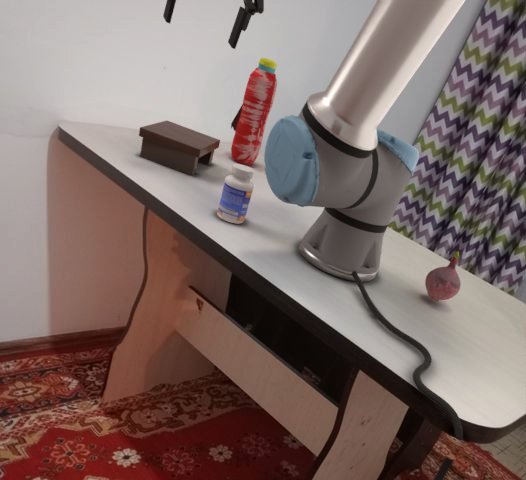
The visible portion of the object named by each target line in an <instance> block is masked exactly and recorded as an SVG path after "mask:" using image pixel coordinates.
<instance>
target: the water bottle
mask: <svg viewBox="0 0 526 480" xmlns="http://www.w3.org/2000/svg"><path fill="white" fill-rule="evenodd" d="M277 66H278V63H276V62H275V61H274V60H273V59H269V58H267V57H260V58H259V60H258V67H255V69H254V70H253V71H252V72H251V73H250V74H249V77H248V81H247V83H246V88H245V91H244V95H243V99H242V103H241V106H240V107H239V109H238V111H237V113H236V115H235V116H234V118H233V120H232V122H231V123H230V129H233V131H234V135H233V139H232V142H231V147H230V149H231V150H230V152H231V153H230V154H231V158H232V160H233V161H235V162H236V163H237V164H242V165H245V166H252V165H253V164H254V163H255V161H256V160H257V159H258V157H259V153H260V151H261V147H262V143H263V142H262V141H263V137H264V133H265V130H266V129H265V128H266V125H267V121H268V118H269V115H270V112H271V110H272V107H273V104H274V101H275V96H276V91H277V87H278V79H277V74H276V70H277Z"/></svg>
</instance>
